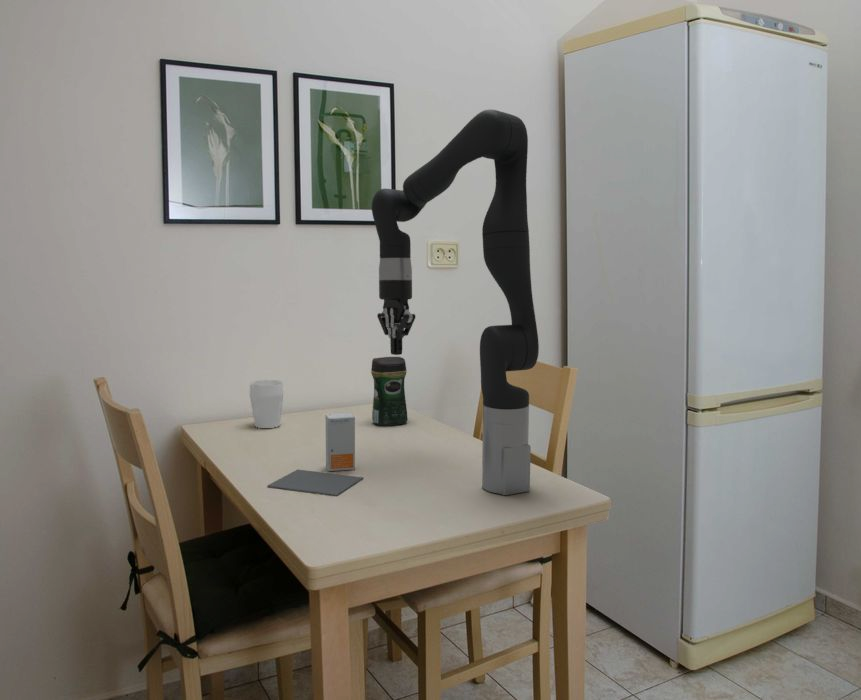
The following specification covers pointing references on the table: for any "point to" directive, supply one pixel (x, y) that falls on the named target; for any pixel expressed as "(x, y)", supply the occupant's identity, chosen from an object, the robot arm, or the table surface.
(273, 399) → the cup
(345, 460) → the skincare box
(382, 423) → the coffee jar
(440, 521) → the table surface
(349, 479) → the mat
